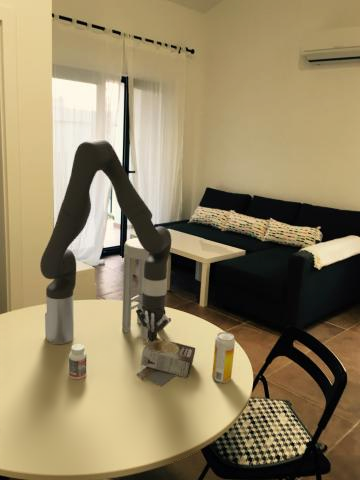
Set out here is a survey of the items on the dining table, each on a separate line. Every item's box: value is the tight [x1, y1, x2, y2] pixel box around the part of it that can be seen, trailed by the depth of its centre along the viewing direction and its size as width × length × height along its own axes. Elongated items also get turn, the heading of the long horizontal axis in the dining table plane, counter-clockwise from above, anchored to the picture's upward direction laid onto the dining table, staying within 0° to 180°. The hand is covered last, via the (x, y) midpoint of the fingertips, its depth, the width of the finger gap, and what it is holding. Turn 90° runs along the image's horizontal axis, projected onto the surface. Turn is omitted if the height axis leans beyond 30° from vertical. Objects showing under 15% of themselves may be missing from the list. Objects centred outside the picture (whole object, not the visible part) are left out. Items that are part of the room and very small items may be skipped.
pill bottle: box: [68, 343, 87, 380], centre depth 140 cm, size 5×5×10 cm
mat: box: [136, 366, 177, 387], centre depth 145 cm, size 10×12×1 cm
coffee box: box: [140, 337, 196, 378], centre depth 147 cm, size 9×6×16 cm
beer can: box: [211, 331, 236, 384], centre depth 142 cm, size 6×6×15 cm
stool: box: [121, 237, 164, 341], centre depth 168 cm, size 16×16×35 cm
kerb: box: [140, 368, 157, 381], centre depth 146 cm, size 1×14×1 cm, turn 146°
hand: (152, 340), depth 145 cm, fingers closed
